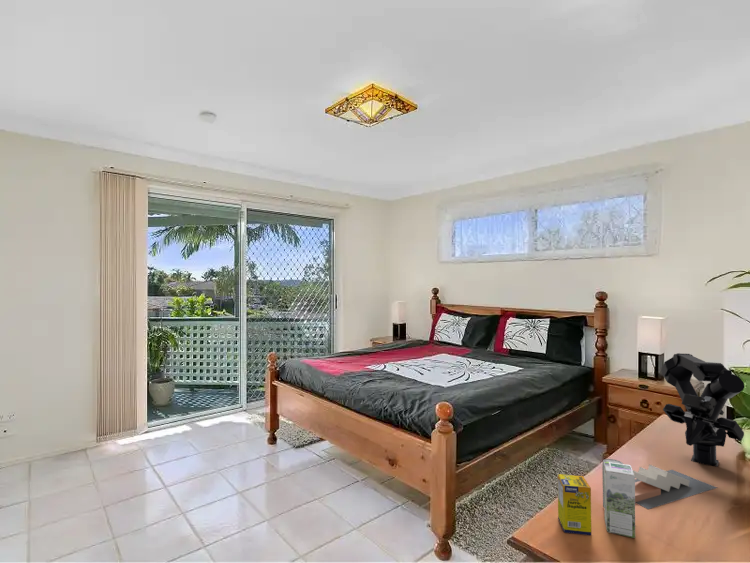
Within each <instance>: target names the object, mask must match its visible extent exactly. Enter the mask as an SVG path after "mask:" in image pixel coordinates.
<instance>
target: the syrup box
mask: <svg viewBox="0 0 750 563" xmlns="http://www.w3.org/2000/svg"><path fill="white" fill-rule="evenodd" d="M633 471H634V470H633V468H632V465H630V464H624V463H623V464H620V463H613V462H606V461H604V507H603V509H604V513H603V514H604V518H603V519H604V523H605V529H606V533H610V534H614V535H619V536H624V537H627V538H632V539H633V538H634V539H635V538H636V503H635V479H636V478H635V476H634V473H633Z"/></svg>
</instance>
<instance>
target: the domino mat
mask: <svg viewBox="0 0 750 563" xmlns="http://www.w3.org/2000/svg"><path fill="white" fill-rule="evenodd" d="M666 471H667V472H670V473H672V474H674V475H677V476H679V477H682V478H684V479H687V480H689V481H690V482H689V486H686V485H683V484H681V483H680V487H679V489H677V488H675V487H672V486H671V487H670V490H669V492H668V491H666V490H663V489H661V495H658V496H654V497H651V498H648V499H644V500H641V501H638V502H635V504H637V505H638V506H640V507H642V508H645V509H646V510H651V509H654V508H658V507H659V506H663V505H666V504H670V503H672V502H676V501H680V500H682V499H683V500H684V499H686V498H688V497H689V498H690V497H692V496H693V497H694V496H696V495H699V494H701V493H705V492H708V491H711V490H715V489H718V487H717V486H714V485H712V484H709V483H707V482H705V481H702V480H700V479H696V478H694V477H692V476H690V475H686V474H684V473H682V472H679V471H676V470H674V469H669V470H666ZM638 481H641V480H638V479H636V478H635V482H638Z"/></svg>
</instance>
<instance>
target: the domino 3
mask: <svg viewBox="0 0 750 563" xmlns="http://www.w3.org/2000/svg"><path fill="white" fill-rule="evenodd" d="M647 470H649V471H651V472H654V473H656V474H659V475H661V476H663V477H666V478H668V479H671V480H673V481H676V482H678V483H681V484H683V485H686V486H689V482H690V481H689V480H687V479H684V478H682V477H679V476H677V475H674V474H672V473H670V472H667V471H668V470H664V469H663V468H659V467H657V466H655V465H652V464H648V468H647Z"/></svg>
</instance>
